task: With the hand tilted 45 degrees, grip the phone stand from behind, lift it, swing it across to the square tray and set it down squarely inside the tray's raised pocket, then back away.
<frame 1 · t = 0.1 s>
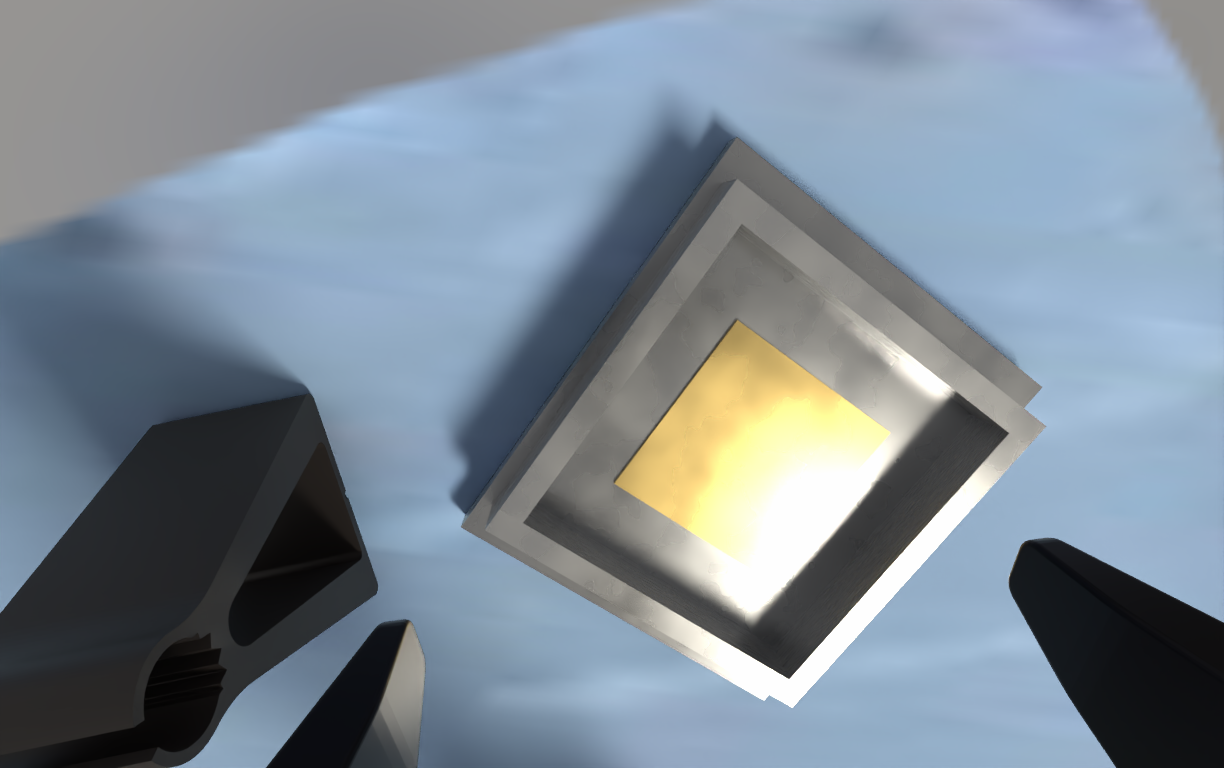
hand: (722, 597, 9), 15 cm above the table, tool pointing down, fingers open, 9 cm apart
phone stand: (277, 507, 24), on the table
square tray: (745, 448, 25), on the table
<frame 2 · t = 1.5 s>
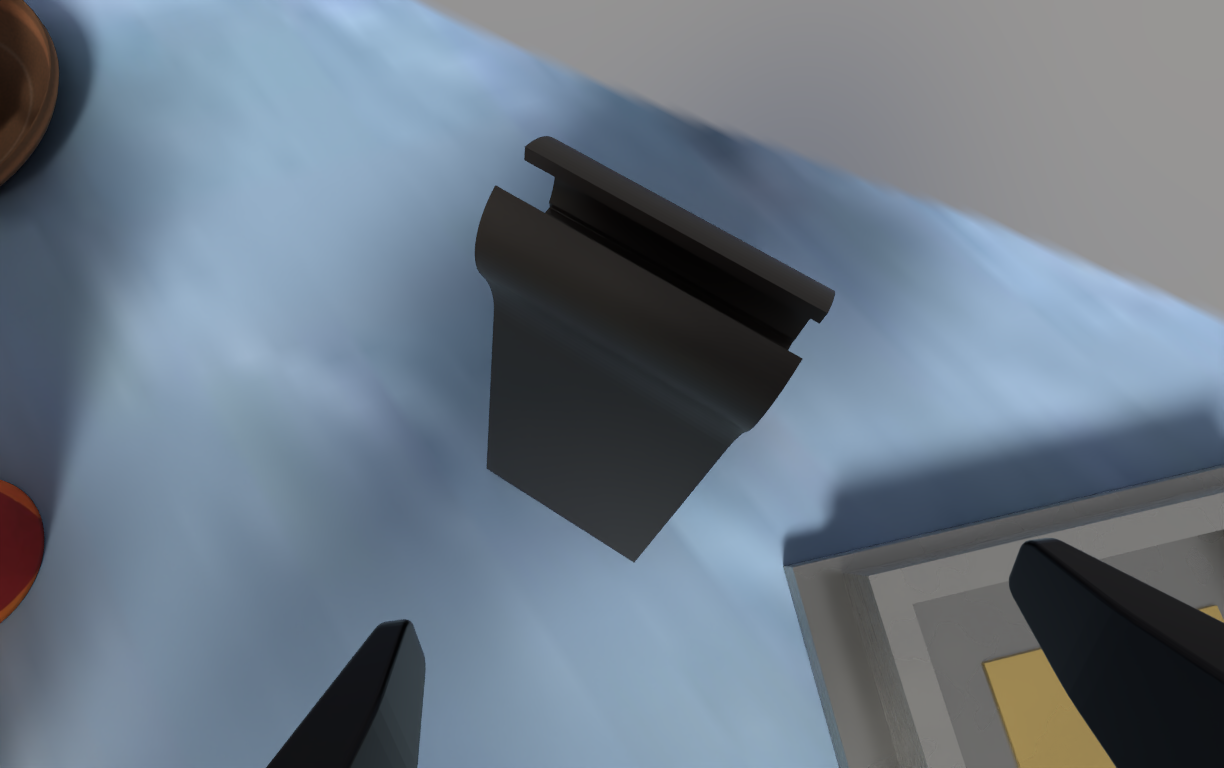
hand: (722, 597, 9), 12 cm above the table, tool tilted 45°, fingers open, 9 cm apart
phone stand: (626, 409, 22), on the table
square tray: (1127, 761, 19), on the table
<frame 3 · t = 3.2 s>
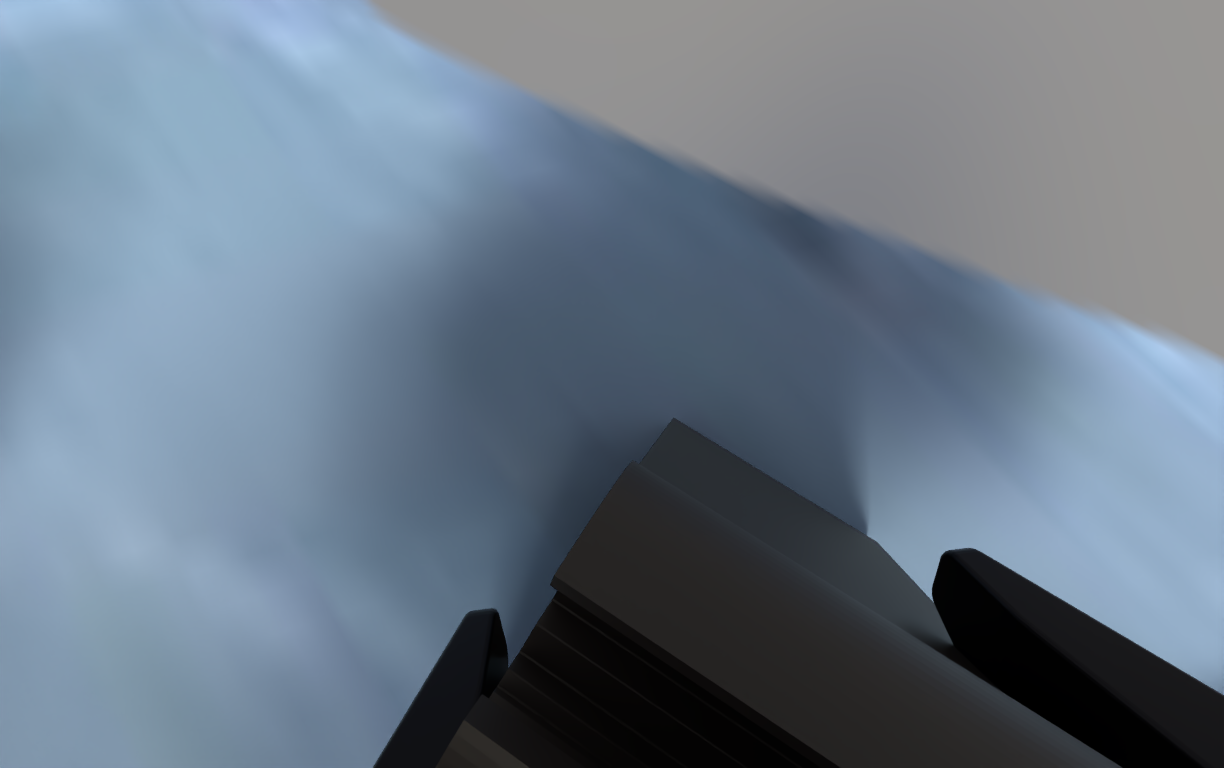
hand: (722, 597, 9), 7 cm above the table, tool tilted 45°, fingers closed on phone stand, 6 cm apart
phone stand: (681, 632, 15), on the table, touching gripper
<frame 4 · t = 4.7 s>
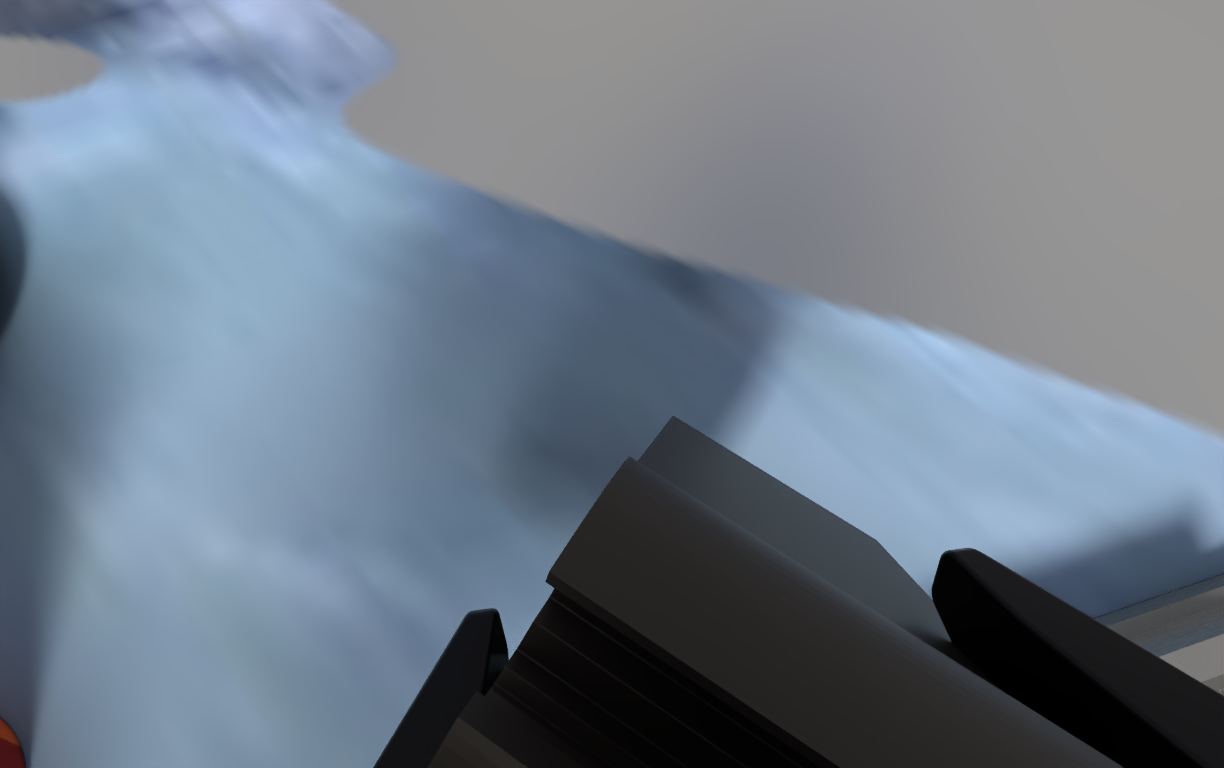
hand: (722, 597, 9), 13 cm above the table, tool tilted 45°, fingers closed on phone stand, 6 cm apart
phone stand: (680, 630, 15), point 6 cm above the table, touching gripper
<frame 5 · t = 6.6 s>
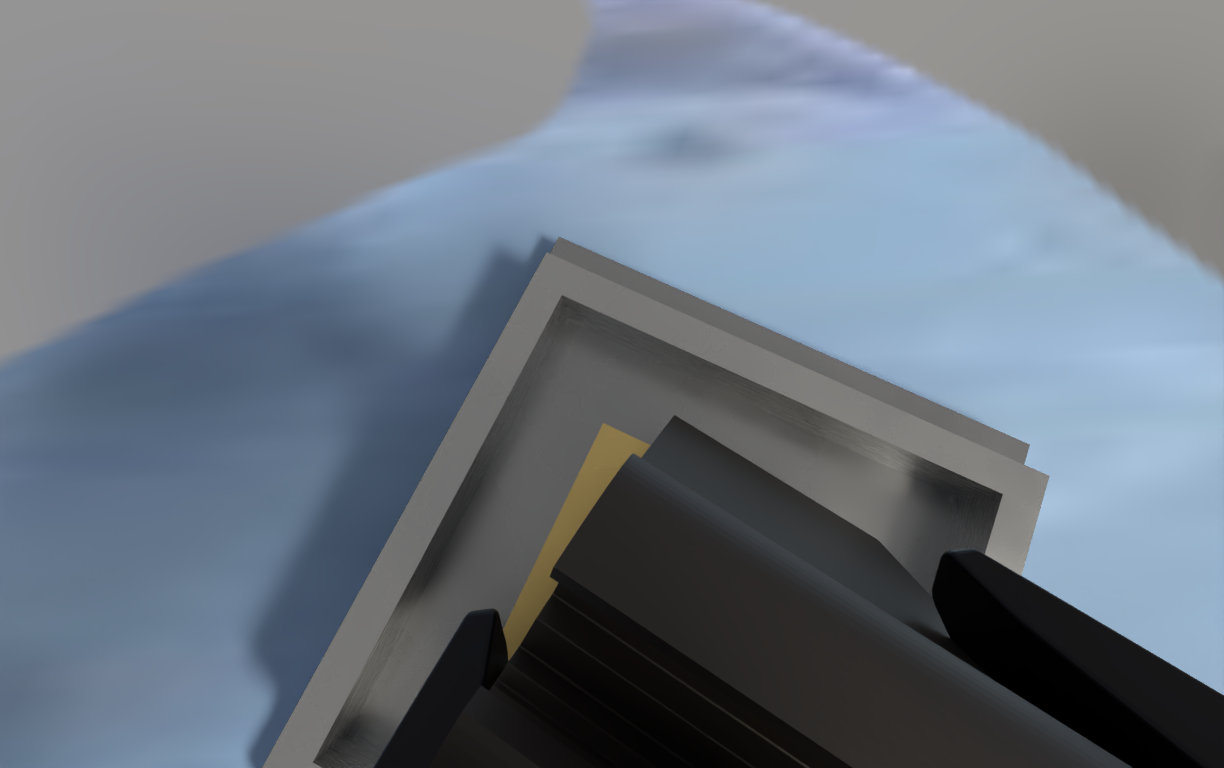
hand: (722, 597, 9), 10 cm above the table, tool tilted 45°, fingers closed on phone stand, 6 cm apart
phone stand: (681, 629, 15), point 3 cm above the table, touching gripper
square tray: (666, 606, 18), on the table
when the fingers open (9 cm above the table, at t = 7.2 s): phone stand drops 1 cm, resting on square tray.
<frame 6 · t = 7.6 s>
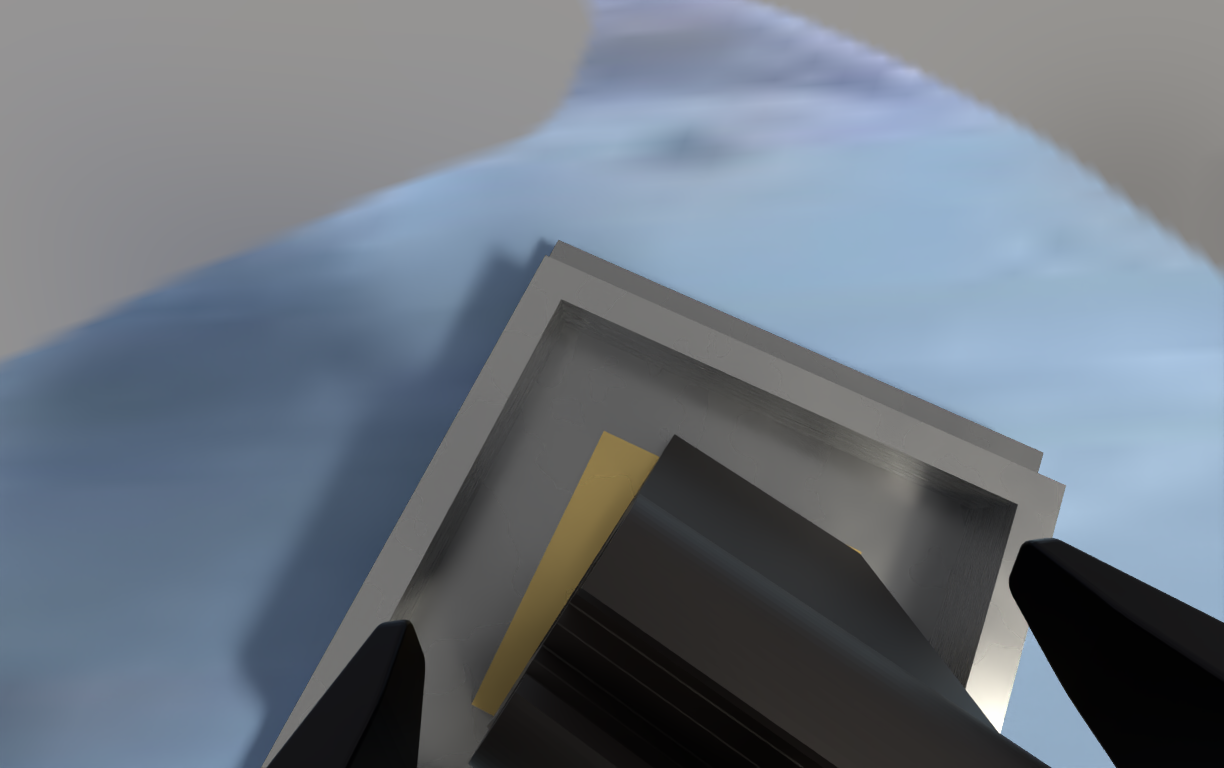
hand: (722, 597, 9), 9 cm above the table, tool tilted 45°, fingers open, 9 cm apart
phone stand: (677, 632, 16), point 1 cm above the table, touching square tray
square tray: (669, 620, 17), on the table
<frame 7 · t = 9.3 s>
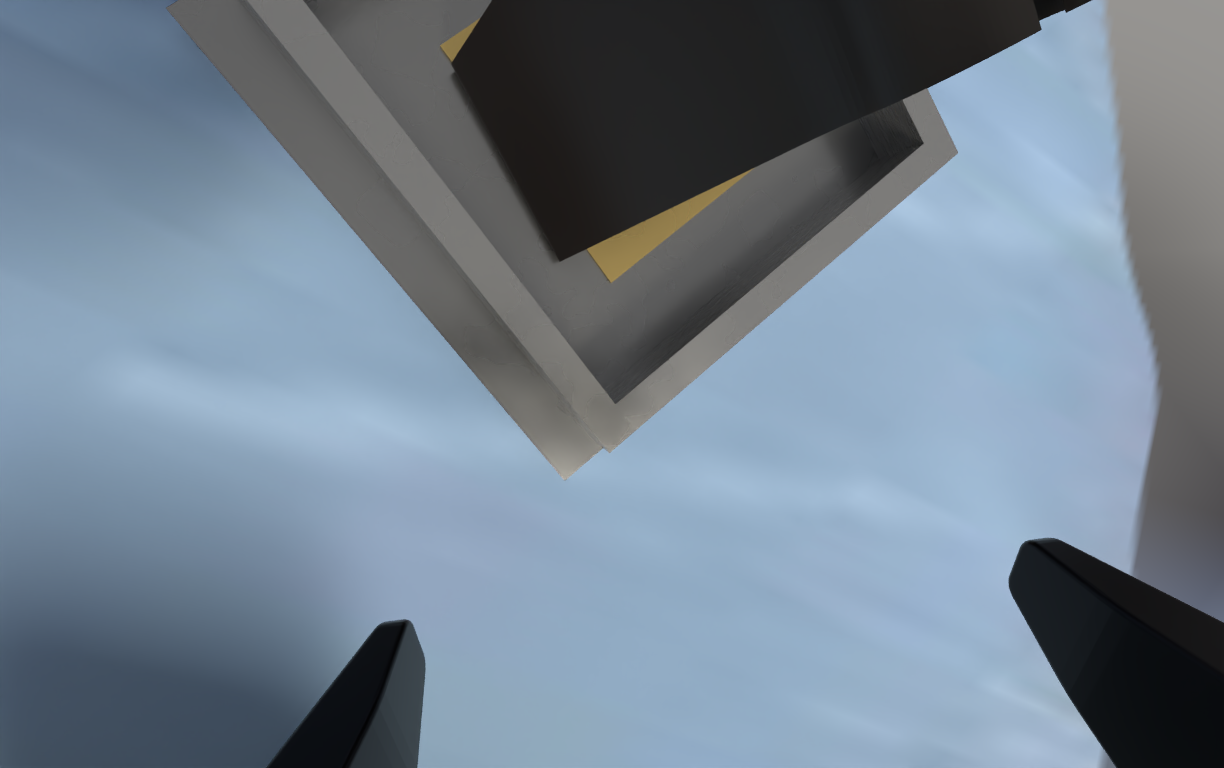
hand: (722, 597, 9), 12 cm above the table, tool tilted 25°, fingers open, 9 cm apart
phone stand: (632, 105, 18), point 1 cm above the table, touching square tray
square tray: (623, 106, 19), on the table
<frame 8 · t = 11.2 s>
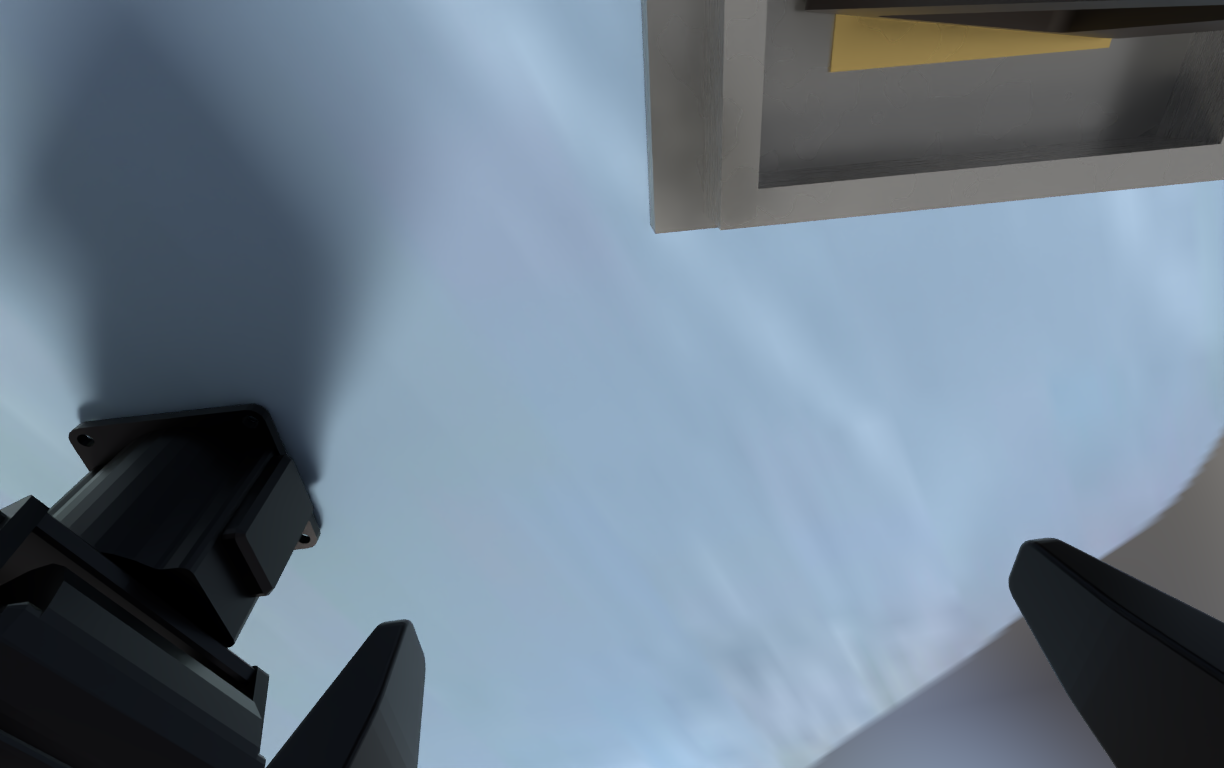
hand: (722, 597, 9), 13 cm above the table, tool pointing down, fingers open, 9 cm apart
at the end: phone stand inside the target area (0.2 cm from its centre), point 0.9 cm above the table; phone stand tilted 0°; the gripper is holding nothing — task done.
